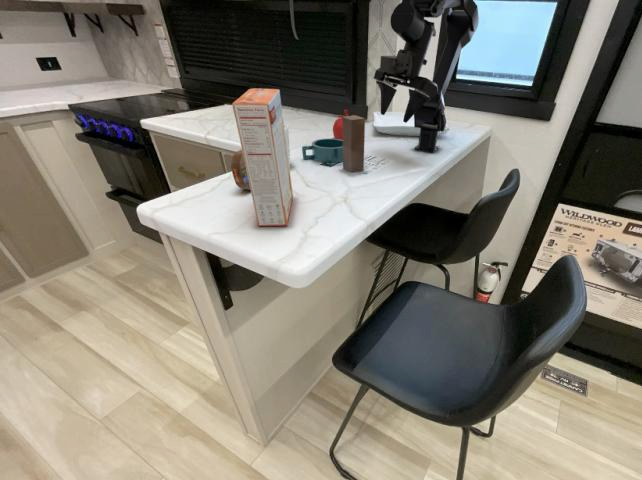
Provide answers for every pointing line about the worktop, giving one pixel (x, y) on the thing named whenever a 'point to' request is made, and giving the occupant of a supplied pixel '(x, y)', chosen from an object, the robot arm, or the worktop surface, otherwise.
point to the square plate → (398, 124)
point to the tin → (240, 170)
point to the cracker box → (265, 154)
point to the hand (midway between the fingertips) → (393, 118)
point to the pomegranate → (339, 127)
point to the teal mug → (325, 151)
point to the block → (353, 143)
